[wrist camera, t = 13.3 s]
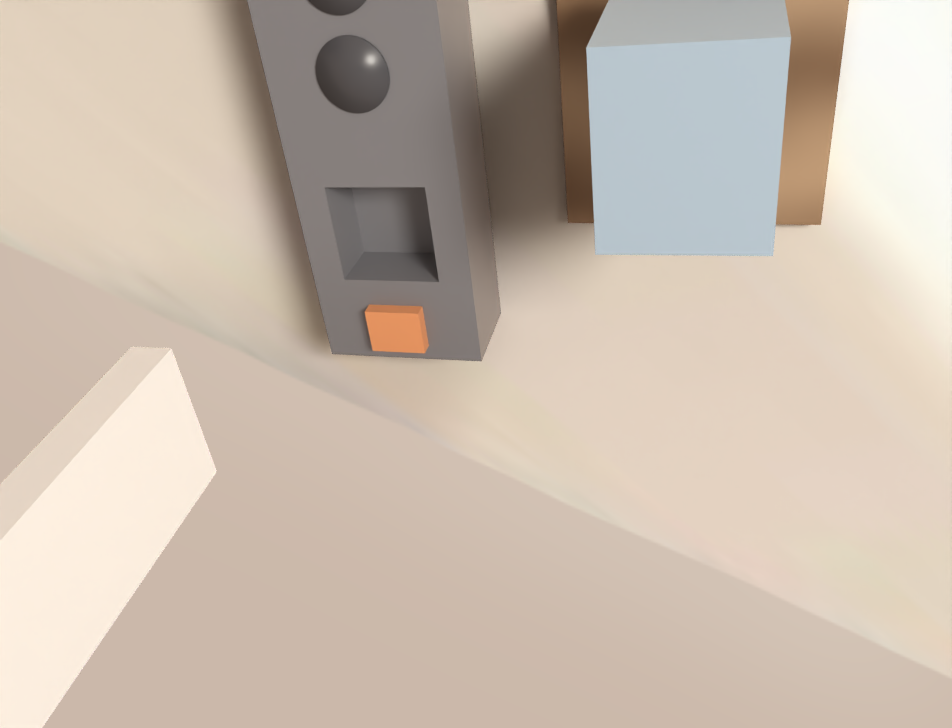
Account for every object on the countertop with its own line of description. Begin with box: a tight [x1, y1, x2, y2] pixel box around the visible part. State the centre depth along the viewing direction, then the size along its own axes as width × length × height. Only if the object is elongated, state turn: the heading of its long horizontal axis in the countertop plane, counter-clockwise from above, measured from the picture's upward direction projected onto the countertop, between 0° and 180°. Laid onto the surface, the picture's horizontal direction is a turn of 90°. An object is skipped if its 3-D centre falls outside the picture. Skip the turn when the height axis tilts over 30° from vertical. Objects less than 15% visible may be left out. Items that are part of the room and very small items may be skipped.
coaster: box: [556, 0, 849, 225], centre depth 32 cm, size 14×10×1 cm
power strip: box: [247, 0, 501, 361], centre depth 32 cm, size 29×7×5 cm, turn 6°
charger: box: [586, 0, 791, 256], centre depth 28 cm, size 6×5×10 cm
